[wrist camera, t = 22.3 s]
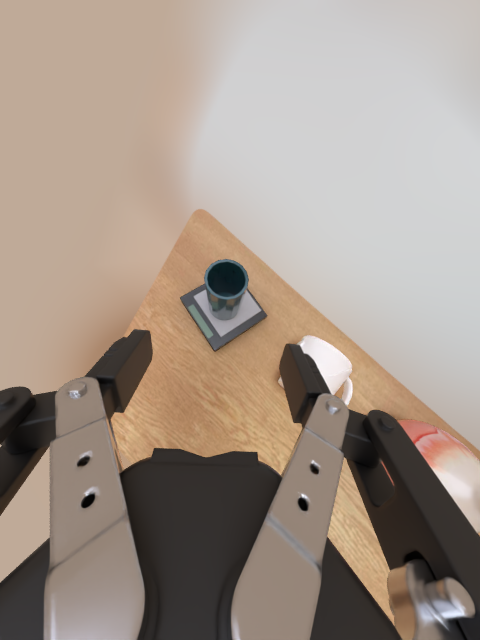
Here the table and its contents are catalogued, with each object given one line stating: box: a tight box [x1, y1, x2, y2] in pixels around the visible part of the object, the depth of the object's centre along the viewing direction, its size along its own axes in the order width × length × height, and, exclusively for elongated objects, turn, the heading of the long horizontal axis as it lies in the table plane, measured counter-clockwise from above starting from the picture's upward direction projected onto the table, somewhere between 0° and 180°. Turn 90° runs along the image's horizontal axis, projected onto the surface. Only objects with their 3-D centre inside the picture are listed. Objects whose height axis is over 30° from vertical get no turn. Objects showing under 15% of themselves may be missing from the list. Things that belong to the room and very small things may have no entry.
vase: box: [382, 419, 480, 533], centre depth 27 cm, size 14×14×18 cm
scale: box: [180, 284, 267, 351], centre depth 38 cm, size 12×12×3 cm
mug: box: [278, 335, 353, 406], centre depth 33 cm, size 12×9×8 cm
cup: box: [204, 259, 249, 321], centre depth 31 cm, size 6×6×11 cm
